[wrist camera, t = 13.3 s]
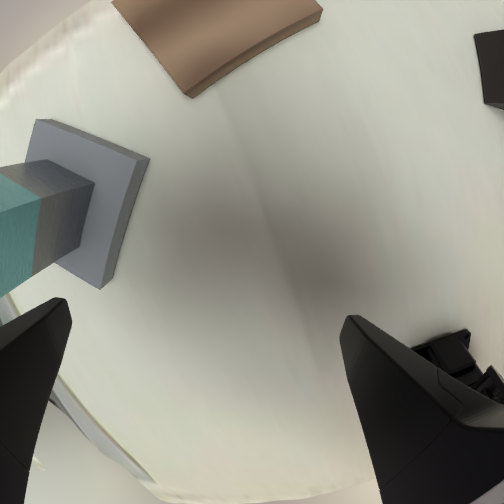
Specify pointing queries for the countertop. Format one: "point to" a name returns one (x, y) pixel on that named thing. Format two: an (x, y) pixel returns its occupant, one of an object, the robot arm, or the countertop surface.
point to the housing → (39, 218)
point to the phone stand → (492, 66)
